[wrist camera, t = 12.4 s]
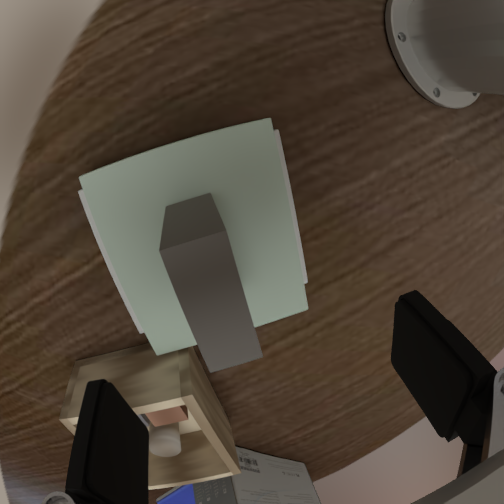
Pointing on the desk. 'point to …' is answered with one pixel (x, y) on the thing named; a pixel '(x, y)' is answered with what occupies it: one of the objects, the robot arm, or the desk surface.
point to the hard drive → (178, 495)
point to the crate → (164, 411)
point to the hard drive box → (260, 483)
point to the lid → (202, 240)
